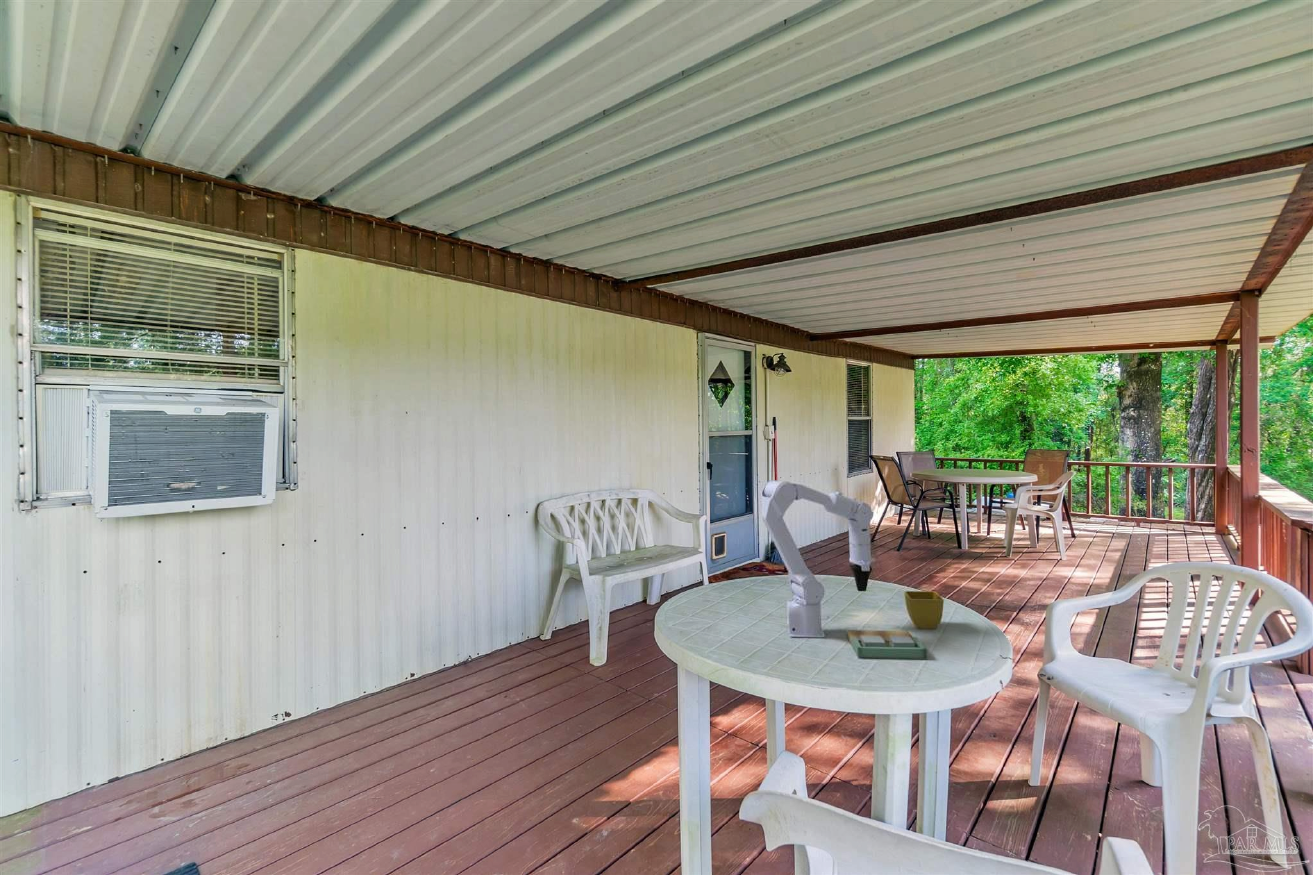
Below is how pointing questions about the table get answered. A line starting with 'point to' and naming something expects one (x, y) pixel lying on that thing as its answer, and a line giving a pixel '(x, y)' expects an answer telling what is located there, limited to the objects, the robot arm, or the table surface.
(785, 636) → the table surface
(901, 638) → the tile right
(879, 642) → the tile left
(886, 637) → the board
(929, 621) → the flower pot
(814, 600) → the robot arm
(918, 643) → the tray
